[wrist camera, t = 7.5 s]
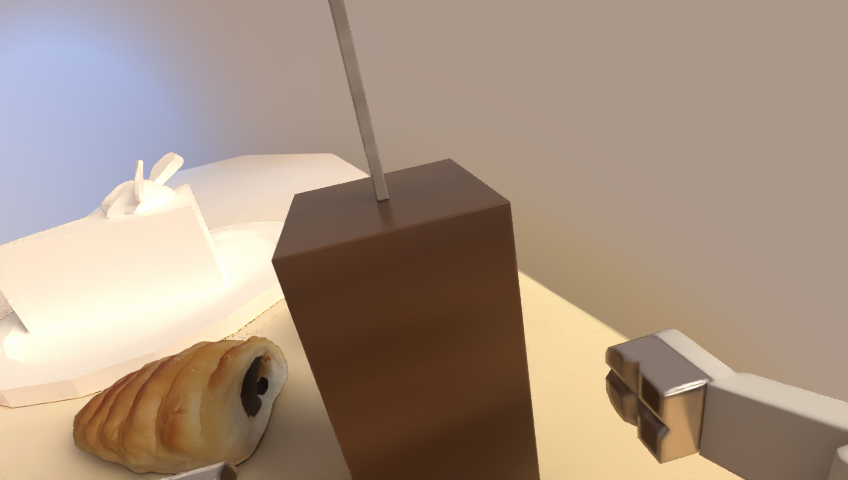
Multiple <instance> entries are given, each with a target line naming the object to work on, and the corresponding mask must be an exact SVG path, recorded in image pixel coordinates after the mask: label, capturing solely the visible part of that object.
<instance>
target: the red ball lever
mask: <svg viewBox="0 0 848 480" xmlns="http://www.w3.org/2000/svg"><path fill="white" fill-rule="evenodd" d="M328 2H329V6H330V10H331V14H332V18H333V22H334V26H335V31H336V35H337V39H338V43H339V47H340V51H341V55H342V59H343V63H344V67H345V72H346V76H347V80H348V84H349V89H350V93H351V96H352V101H353V105H354V109H355V113H356V117H357V122H358V126H359V129H360V134H361V138H362V142H363V146H364V151H365V155H366V159H367V163H368V167H369V171H370V175H371V177H368V178H364V179H359V180H355V181H351V182H346V183H342V184H338V185H333V186H329V187H325V188H320V189H316V190H312V191H307V192H303V193H299V194H295V195H294V198H293V201H292V203H291V206H290V209H289V212H288V215H287V218H286V220H285V223H284V226H283V229H282V232H281V234H280V237H279V240H278V243H277V246H276V248H275V251H274V254H273V257H272V260H271V262H272V265H273V267H274V270H275V273H276V276H277V278H278V281H279V284H280V286H281V289H282V292H283V294H284V297H285V300H286V303H287V305H288V308H289V311H290V313H291V316H292V319H293V321H294V324H295V327H296V329H297V332H298V335H299V338H300V340H301V343H302V346H303V348H304V351H305V354H306V356H307V359H308V362H309V364H310V367H311V370H312V373H313V375H314V378H315V381H316V383H317V386H318V389H319V391H320V394H321V397H322V400H323V402H324V405H325V408H326V410H327V413H328V416H329V418H330V421H331V424H332V426H333V429H334V432H335V435H336V437H337V440H338V443H339V445H340V448H341V451H342V453H343V456H344V459H345V461H346V464H347V467H348V470H349V472H350V475H351V478H352V480H540V475H539V465H538V456H537V447H536V437H535V428H534V419H533V409H532V400H531V391H530V381H529V372H528V363H527V353H526V344H525V335H524V326H523V316H522V307H521V298H520V288H519V279H518V270H517V260H516V251H515V242H514V233H513V223H512V214H511V204H510V201H509V200H507V199H506V198H504V197H503V196H502V195H500V194H499V193H497V192H496V191H494V190H493V189H492V188H490V187H489V186H488V185H486V184H485V183H484V182H482V181H481V180H479V179H478V178H477V177H475V176H473V175H472V174H471V173H470V172H468V171H467V170H465V169H464V168H463V167H461V166H460V165H458V164H457V163H456V162H454V161H453V160H452V159H446V160H442V161H437V162H433V163H429V164H424V165H420V166H416V167H412V168H407V169H403V170H399V171H394V172H390V173H386V174H383V170H382V166H381V162H380V157H379V153H378V148H377V144H376V140H375V135H374V131H373V126H372V123H371V118H370V113H369V109H368V105H367V100H366V96H365V91H364V87H363V83H362V78H361V74H360V69H359V65H358V61H357V57H356V52H355V48H354V43H353V39H352V35H351V31H350V26H349V21H348V18H347V13H346V8H345V4H344V0H328Z"/></svg>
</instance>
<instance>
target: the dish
mask: <svg viewBox="0 0 848 480" xmlns="http://www.w3.org/2000/svg"><path fill="white" fill-rule="evenodd" d="M182 165H183V158H181V157H180V156H178V155H177V154H175V153H174V152H170V153H168V154H166V155H165V156H164V157H163V158H161V159H160V160H159V161H158V162H157V163H156V165H155V166H154V167H153V168H152V171H151V174H150V178H149V181H147V180H143V161H140V160H138V161H137V163H136V171H135V179H134V180H131V181H127V182H124V183H123V184H121V185H119V186H117V187H116V188H115V189H114V190H113V192H111V193H110V195H108V196H107V197H106V198H105V199H104V200H103V202H102V204H101V210H103V212H100V213H97V214H94V215H91V216H88V217H85V218H82V219H79V220H76V221H73V222H70V223H66V224H63V225H61V226H57V227H54V228H51V229H48V230H46V231H42V232H39V233H36V234H33V235H30V236H27V237H24V238H21V239H18V240H15V241H12V242H8V243H5V244H2V245H0V290H1V292H2V293H3V295H4V296H5V298H6V299H7V301H8V302H9V304H10V305H11V306H12V308H13V309H14V311H13V312H11V313H10V314H9V315H7V316H6V317H4V318H3V319H2V320H0V405H3V406H8V407H12V408H15V407H21V406H28V405H34V404H41V403H47V402H54V401H60V400H67V399H73V398H80V397H84V396H87V395H90V394H93V393H95V392H98V391H101V390H104V389H107V388H109V387H110V386H112V385H113V384H114V383H115V382H116V381H118V380H119V379H121V378H122V377H124V376H126V375H127V374H129V373H132V372H135V371H137V370H140V369H141V368H142V367H143V366H144V365H145V364H148V363H150V362H153V361H156V360H160V359H162V358H164V357H168V356H172V355H175V354H178V353H180V352H182V351H183V350H185V349H188V348H190V347H191V346H192V345H194V344H196V343H199V342H202V341H209V342H218V341H220V340H222V339H223V338H225V337H227V336H229V335H231V334H233V333H235V332H237V331H238V330H239V329H241V328H242V327H244V326H245V325H246V324H248V323H249V322H251V321H252V320H253V319H255V318H256V317H257V316H259V315H260V314H262V313H263V312H264V311H266V310H267V309H269V308H270V307H271V306H273V305H274V304H276V303H277V302H278V301H280V300H281V299H283V298H284V294H283V292H282V289H281V286H280V284H279V281H278V278H277V276H276V273H275V270H274V267H273V265H272V262H271V260H272V257H273V254H274V251H275V248H276V246H277V243H278V240H279V237H280V234H281V232H282V229H283V226H284V223H282V222H277V221H264V222H245V223H238V224H233V225H227V226H222V227H216V228H211V229H207V227H206V224H205V222H204V219H203V217H202V215H201V212H200V210H199V208H198V205H197V203H196V201H195V198H194V196H193V194H192V191H191V189H190V187H189V184H186V185H183V186H179V187H176V188H173V189H170V188H168V187H166V186H164V185H163V184H164V183H165V182H166V181H167V180H168V179H169V178H170V177H171V176H172V175H173V174H174V173H175V172H176V171H177V170H178V169H179V168H180V167H181V166H182Z"/></svg>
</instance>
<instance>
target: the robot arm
mask: <svg viewBox="0 0 848 480" xmlns="http://www.w3.org/2000/svg"><path fill="white" fill-rule="evenodd" d="M605 362H606V363H607V364H608V366H609V367H610V368H611V370H610V372H609V374H608V375H607V377H606V390H607V393H608V396H609V399H610V402H611V404H612V405H613V407H614V409H615V410H616V412H617V413H618V414H619V416H620V417H621V418H622V419H623V421H625V422H627V423H630V424H632V425H634V426H636V427H637V434H638V438H639V440H640V441H641V442H642V443H643V444H644V446H645V447H646V448H647V449H648V450H649V451H650V453H651V454H652V455H653V456H654V457H655V458H656V460H657V461H658V462H659V463H660V464H662V463H665V462H668V461H672V460H675V459H678V458H682V457H685V456H688V455H692V454H695V453H698V452H699V455H701V456H703V457H704V458H706V459H708V460H710V461H712V462H714V463H715V464H717V465H719V466H721V467H723V468H725V469H726V470H728V471H730V472H732V473H734V474H736V475H737V476H739V477H741V478H743V479H745V480H848V403H847V402H844V401H840V400H837V399H834V398H830V397H827V396H824V395H820V394H817V393H814V392H810V391H807V390H804V389H800V388H797V387H794V386H790V385H787V384H783V383H780V382H776V381H773V380H770V379H767V378H763V377H760V376H756V375H753V374H750V373H746V372H742V373H739V374H737V373H736V372H734V371H733V370H731V369H730V368H729V367H728V366H726V365H725V364H723V363H722V362H720V361H719V360H718V359H717V358H715V357H714V356H712V355H711V354H710V353H708V352H707V351H705V350H704V349H703V348H702V347H700V346H699V345H697V344H696V343H695V342H693V341H692V340H690V339H689V338H688V337H686V336H685V335H684V334H682V333H681V332H680V331H678V330H676V329H672V328H669V329H666V330H663V331H659V332H656V333H653V334H650V335H649V336H644V337H640V338H638V339H634V340H631V341H627V342H624V343H621V344H618V345H614V346H611V347H608V349H607V351H606V355H605ZM238 474H239V472H238V470H237V469H236V467H235V465H234V464H233V462H232V461H225V462H221V463H217V464H214V465H210V466H206V467H202V468H199V469H195V470H191V471H188V472H184V473H180V474H177V475H175V476H172V477H168V478H164V479H160V480H237V478H238Z"/></svg>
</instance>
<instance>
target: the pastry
mask: <svg viewBox="0 0 848 480" xmlns="http://www.w3.org/2000/svg"><path fill="white" fill-rule="evenodd" d="M287 378H288V366H287V362H286V359H285V357H284V355H283V353H282V351H281V350H280V348H279V347H278V346H277V345H275V344H274V343H273V342H271V341H269V340H267V339H266V338H259V337H256V336H252V337H250V338H249V339H248V340H247V341H240V340H239V341H236V340H222V341H218V342H209V341H202V342H199V343H196V344H194V345H192V346H191V347H190V348H188V349H185V350H183V351H182V352H180V353H178V354H175V355H172V356H168V357H164V358H162V359H160V360H156V361H153V362H150V363H148V364H145V365H144V366H143V367H142V368H141V369H140V370H137V371H135V372H132V373H129V374H127V375H126V376H124V377H122V378H121V379H119V380H118V381H116V382H115V383H114V384H113V385H112V386H110V387H109V388H107V389H105V390H104V391H103V392H102V393H100V394H98V395H96V396H95V397H93V398H92V399H91V400H90V401H89V402H88V403H87V404H86V405H85V406H84V408H82V409H81V410H80V411H79V413H78V414H77V415H76V416H75V420H74V429H73V437H74V440H75V444H76V446H77V447H78V448H79V449H80V450H83V451H87V452H90V453H92V454H94V455H96V456H99V457H100V458H101V459H102V460H106V461H111V462H115V463H119V464H122V465H124V466H126V467H127V468H129V469H130V470H132V471H133V472H135V473H142V474H143V473H147V472H150V471H151V472H154V473H160V474H180V473H182V472H188V471H191V470H195V469H199V468H202V467H206V466H210V465H214V464H217V463H221V462H225V461H232V462H233V464H234V465H237V464H239V463H241V462H242V461H244V460H246V459H248V458H249V457H250V456H251V454H252V453H253V452H254V451H255V449H256V447H257V445H258V443H259V440H260V438H261V436H262V435H263V433H264V431H265V429H266V427H267V423H268V420H269V417H270V415H271V410H272V404H273V402H274V400H275V399H276V397H277V396H278V394H279V393H280V392H281V390H282V388H283V386H284V384H285V382H286V380H287Z"/></svg>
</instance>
